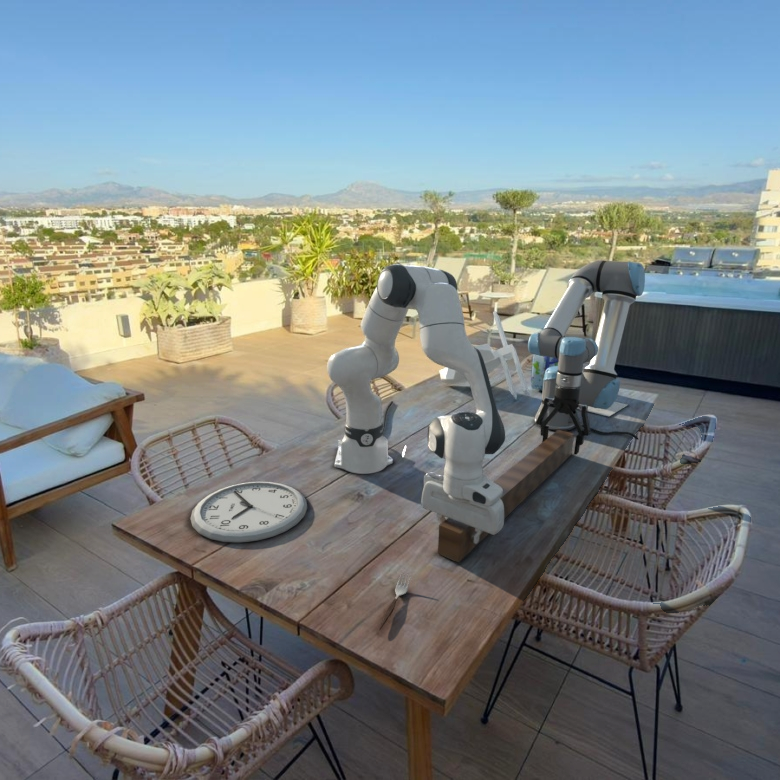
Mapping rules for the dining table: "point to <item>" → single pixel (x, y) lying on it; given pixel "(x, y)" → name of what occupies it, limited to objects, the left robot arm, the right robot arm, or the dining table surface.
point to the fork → (399, 591)
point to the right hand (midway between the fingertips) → (560, 449)
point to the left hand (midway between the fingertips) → (459, 535)
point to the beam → (509, 491)
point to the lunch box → (541, 369)
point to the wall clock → (248, 512)
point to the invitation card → (607, 412)
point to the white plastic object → (492, 362)
